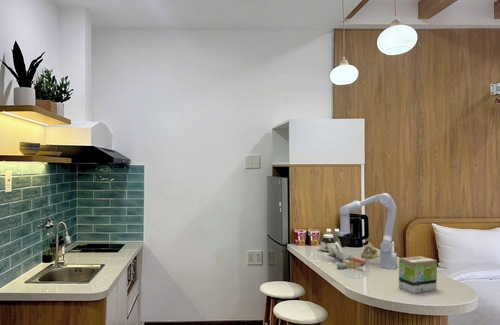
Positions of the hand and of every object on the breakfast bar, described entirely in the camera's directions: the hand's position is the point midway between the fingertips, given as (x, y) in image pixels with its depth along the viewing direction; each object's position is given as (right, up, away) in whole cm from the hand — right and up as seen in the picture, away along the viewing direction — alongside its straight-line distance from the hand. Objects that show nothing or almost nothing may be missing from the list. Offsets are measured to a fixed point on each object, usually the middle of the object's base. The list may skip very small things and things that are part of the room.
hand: (345, 246), depth 234 cm
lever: (+3, -6, -16) cm, 17 cm away
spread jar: (-2, -11, +30) cm, 32 cm away
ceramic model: (+21, -11, +16) cm, 28 cm away
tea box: (+22, -9, -53) cm, 58 cm away
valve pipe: (+1, -10, -12) cm, 15 cm away
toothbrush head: (-2, -11, +8) cm, 13 cm away
